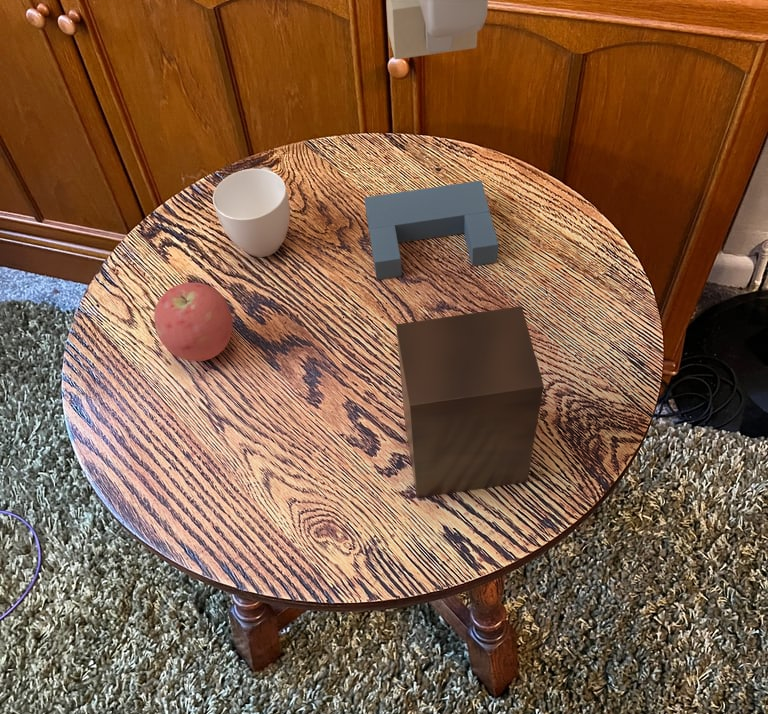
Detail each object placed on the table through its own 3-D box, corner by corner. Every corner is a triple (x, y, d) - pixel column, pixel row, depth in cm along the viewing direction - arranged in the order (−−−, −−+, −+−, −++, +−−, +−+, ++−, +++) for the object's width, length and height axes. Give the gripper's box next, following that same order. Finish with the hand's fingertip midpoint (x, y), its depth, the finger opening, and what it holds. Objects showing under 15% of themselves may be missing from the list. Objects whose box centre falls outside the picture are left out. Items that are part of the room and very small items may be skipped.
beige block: (467, 20, 57) (469, -31, 54) (476, 48, 56) (479, -3, 53) (388, 32, 57) (385, -19, 54) (394, 60, 56) (392, 9, 52)
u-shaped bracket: (480, 198, 87) (481, 180, 84) (497, 262, 82) (498, 244, 80) (366, 215, 87) (364, 197, 84) (376, 280, 82) (374, 262, 80)
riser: (509, 410, 73) (521, 305, 60) (527, 482, 69) (544, 386, 57) (405, 425, 73) (395, 323, 61) (416, 498, 69) (409, 405, 57)
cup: (219, 265, 85) (202, 215, 79) (246, 202, 89) (231, 151, 83) (287, 272, 83) (274, 222, 78) (310, 208, 88) (300, 156, 82)
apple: (241, 372, 77) (220, 317, 70) (168, 381, 78) (140, 327, 71) (240, 316, 81) (221, 259, 74) (171, 325, 81) (145, 268, 74)
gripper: (526, -147, 39) (505, 110, 51) (454, -299, 48) (451, -53, 60) (401, -130, 38) (410, 123, 51) (354, -285, 48) (371, -41, 60)
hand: (432, 26), depth 56 cm, fingers closed on beige block, 3 cm apart
